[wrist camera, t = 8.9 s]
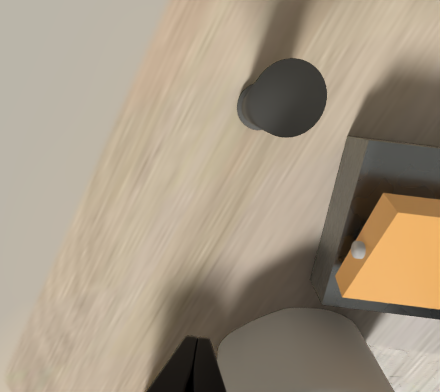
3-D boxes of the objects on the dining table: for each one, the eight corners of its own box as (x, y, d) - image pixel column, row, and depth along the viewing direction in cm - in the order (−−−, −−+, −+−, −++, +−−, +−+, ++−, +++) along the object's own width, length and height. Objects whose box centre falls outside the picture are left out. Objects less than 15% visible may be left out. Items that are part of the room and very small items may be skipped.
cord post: (284, 86, 17) (347, 53, 8) (276, 131, 18) (324, 151, 9) (240, 81, 17) (249, 42, 8) (234, 127, 18) (236, 141, 9)
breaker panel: (503, 154, 18) (580, 166, 14) (439, 295, 22) (486, 336, 18) (347, 136, 18) (380, 142, 14) (310, 279, 22) (327, 316, 18)
